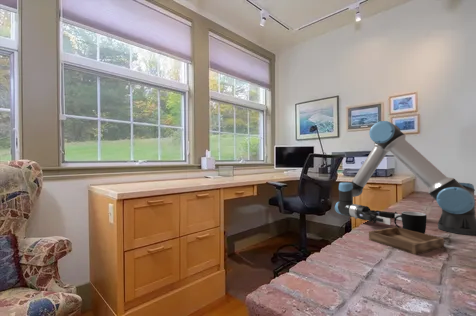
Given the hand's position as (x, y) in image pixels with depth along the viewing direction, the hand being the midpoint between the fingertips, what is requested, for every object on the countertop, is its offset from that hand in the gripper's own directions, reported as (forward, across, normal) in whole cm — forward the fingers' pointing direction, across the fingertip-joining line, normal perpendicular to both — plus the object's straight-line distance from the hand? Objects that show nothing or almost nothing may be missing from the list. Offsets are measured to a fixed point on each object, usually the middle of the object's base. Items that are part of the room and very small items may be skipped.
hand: (400, 220), depth 109 cm
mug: (+4, 0, -6) cm, 7 cm away
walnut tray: (+10, +14, -6) cm, 18 cm away
